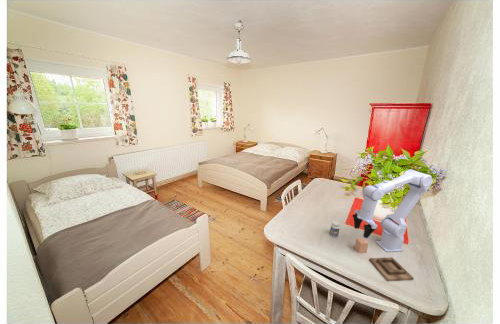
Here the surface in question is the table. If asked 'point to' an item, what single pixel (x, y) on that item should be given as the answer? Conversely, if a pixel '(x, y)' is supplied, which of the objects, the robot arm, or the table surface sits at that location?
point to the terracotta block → (361, 245)
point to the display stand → (390, 269)
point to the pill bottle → (335, 229)
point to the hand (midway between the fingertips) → (360, 232)
